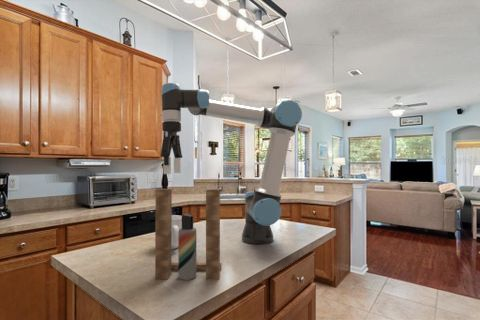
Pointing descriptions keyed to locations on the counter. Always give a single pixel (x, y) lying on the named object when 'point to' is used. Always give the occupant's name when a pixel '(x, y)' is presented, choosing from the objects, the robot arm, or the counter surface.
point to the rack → (165, 235)
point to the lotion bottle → (187, 249)
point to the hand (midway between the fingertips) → (172, 173)
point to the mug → (176, 229)
